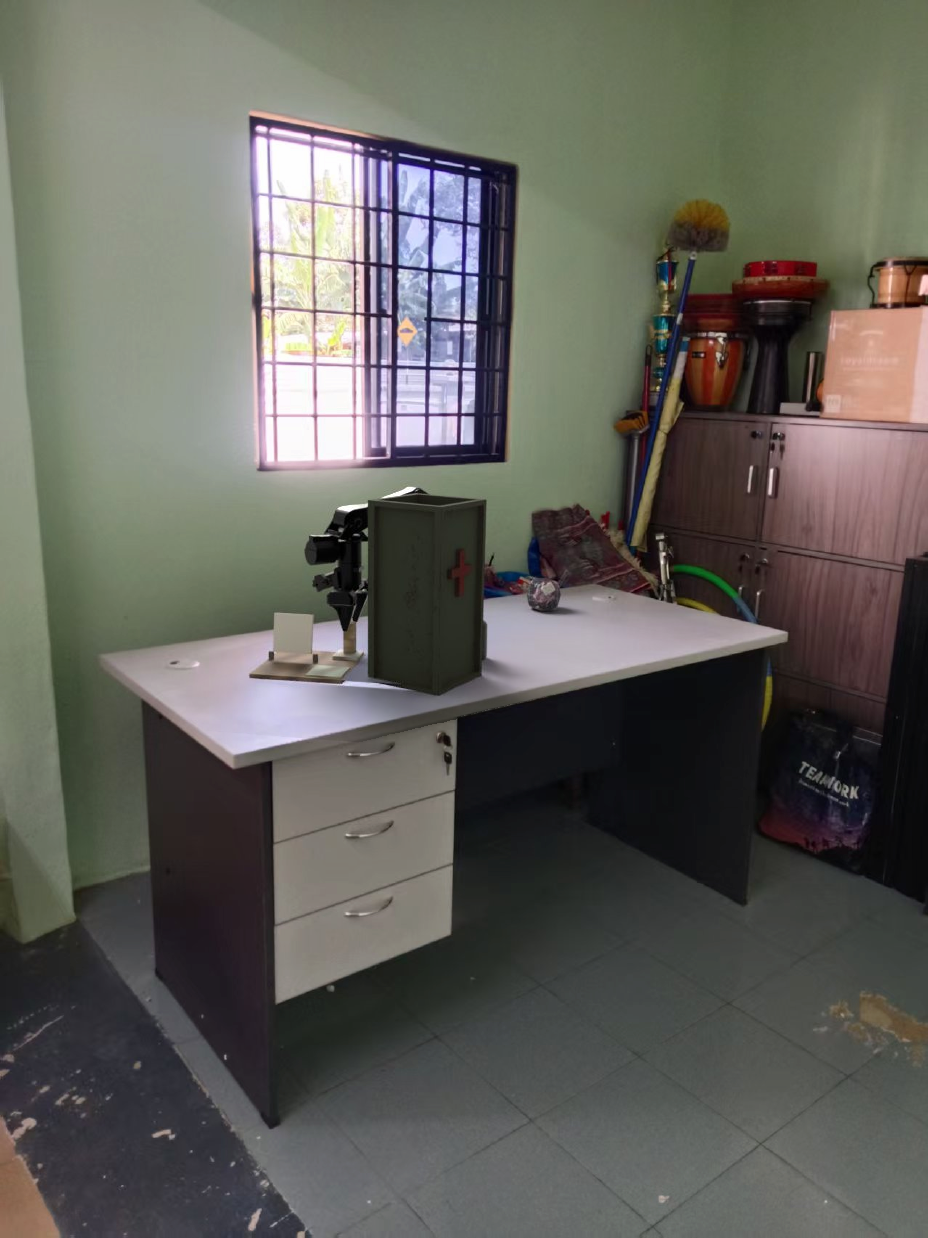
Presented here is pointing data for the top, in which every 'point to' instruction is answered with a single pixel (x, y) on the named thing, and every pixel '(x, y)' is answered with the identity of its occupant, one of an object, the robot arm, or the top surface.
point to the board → (304, 667)
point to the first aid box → (426, 590)
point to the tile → (293, 633)
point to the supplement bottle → (484, 640)
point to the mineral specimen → (543, 594)
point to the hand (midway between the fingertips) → (350, 626)
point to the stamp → (349, 645)
